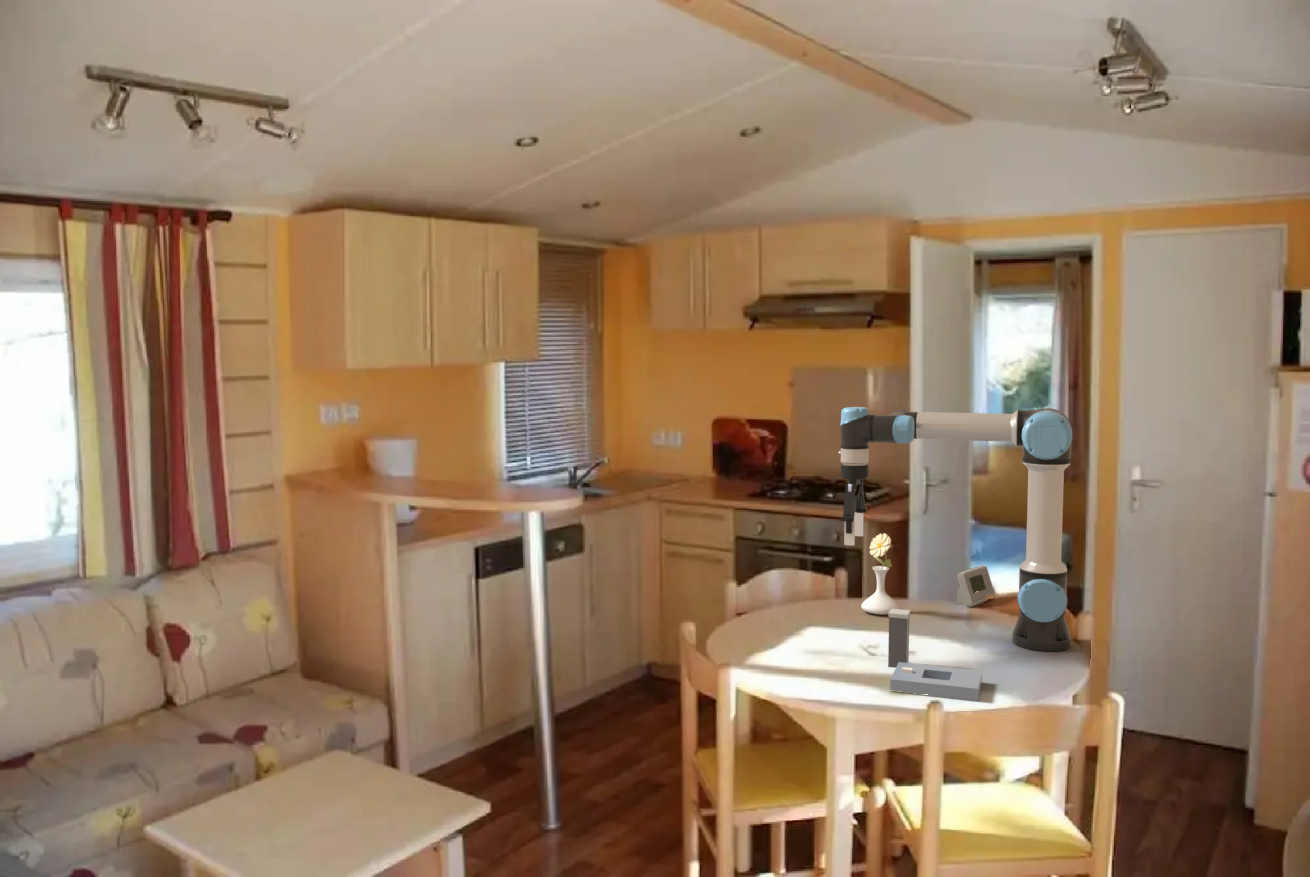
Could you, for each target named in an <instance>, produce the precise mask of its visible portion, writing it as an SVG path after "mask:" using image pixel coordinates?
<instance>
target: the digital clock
mask: <svg viewBox="0 0 1310 877" xmlns="http://www.w3.org/2000/svg"><path fill="white" fill-rule="evenodd" d="M956 576H957V581H958V584H959V587H958V588H957V592H956V593H957V594H956V598H957V599H956V602H957V603H958V604H964V605H965V606H966V607H969V608H972V607H977V606H979V605H982V604H984V603H983V602H984V601H985V599H986V598H985V597H987V596H986V594H994V593H995V589H994V586H993V583H992V580H991V576H990V573H989V570H988V568H987V566H986V565H984V564H983V565H982V564H981V565H979V566H974V567H971V568H968V569H965V570H963V571H960V572H958V573H957V575H956ZM976 591H979V592H977V593H975V592H976ZM995 594H996V593H995Z"/></svg>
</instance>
